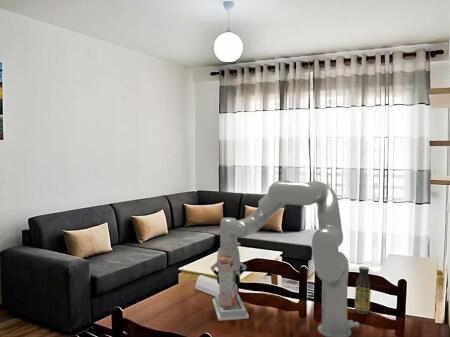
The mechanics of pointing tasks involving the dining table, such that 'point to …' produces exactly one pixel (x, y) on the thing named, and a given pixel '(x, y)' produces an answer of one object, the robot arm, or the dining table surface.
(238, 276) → the robot arm
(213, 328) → the dining table surface
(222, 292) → the cracker box
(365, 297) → the sauce bottle
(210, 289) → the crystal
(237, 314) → the grey rectangular tray
